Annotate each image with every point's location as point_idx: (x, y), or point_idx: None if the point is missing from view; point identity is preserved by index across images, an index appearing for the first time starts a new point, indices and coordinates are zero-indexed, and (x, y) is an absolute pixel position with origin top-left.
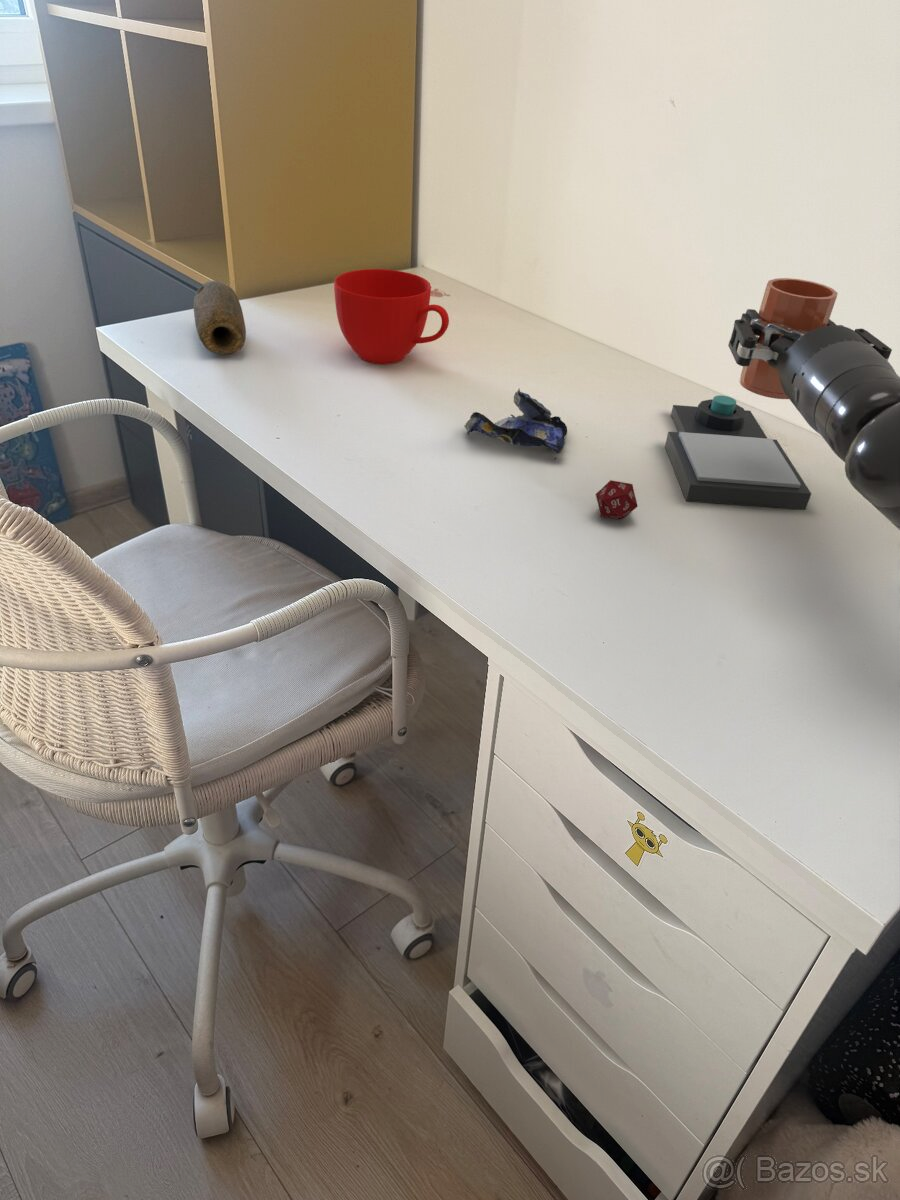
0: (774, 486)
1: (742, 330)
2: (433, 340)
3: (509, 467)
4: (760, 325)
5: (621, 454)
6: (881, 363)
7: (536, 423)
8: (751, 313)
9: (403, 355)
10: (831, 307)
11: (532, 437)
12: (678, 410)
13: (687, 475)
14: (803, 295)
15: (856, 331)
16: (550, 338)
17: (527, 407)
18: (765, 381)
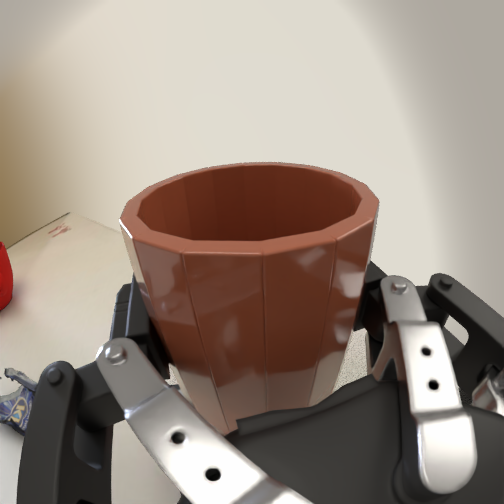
0: None
1: (26, 468)
2: (3, 294)
3: (19, 460)
4: (113, 393)
5: (119, 425)
6: None
7: None
8: (131, 291)
9: (2, 304)
10: (372, 243)
11: (20, 432)
12: None
13: (181, 494)
14: (268, 199)
15: (441, 293)
16: (111, 248)
17: (23, 381)
18: None
